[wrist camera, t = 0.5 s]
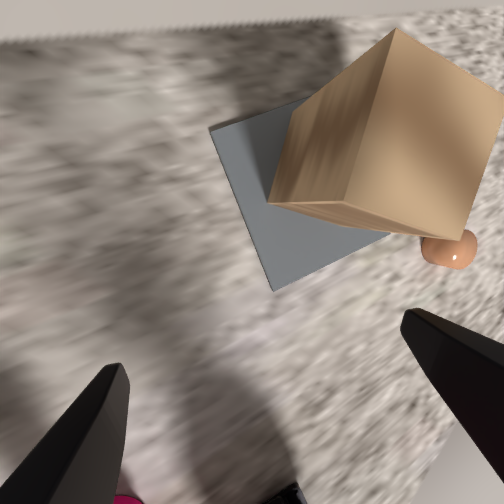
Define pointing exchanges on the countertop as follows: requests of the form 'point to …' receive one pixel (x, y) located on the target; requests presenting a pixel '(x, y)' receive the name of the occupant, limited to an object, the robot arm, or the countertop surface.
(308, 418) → the countertop surface
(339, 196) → the cover box
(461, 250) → the glossy peach egg
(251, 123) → the slate mat
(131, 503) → the pepper mill
